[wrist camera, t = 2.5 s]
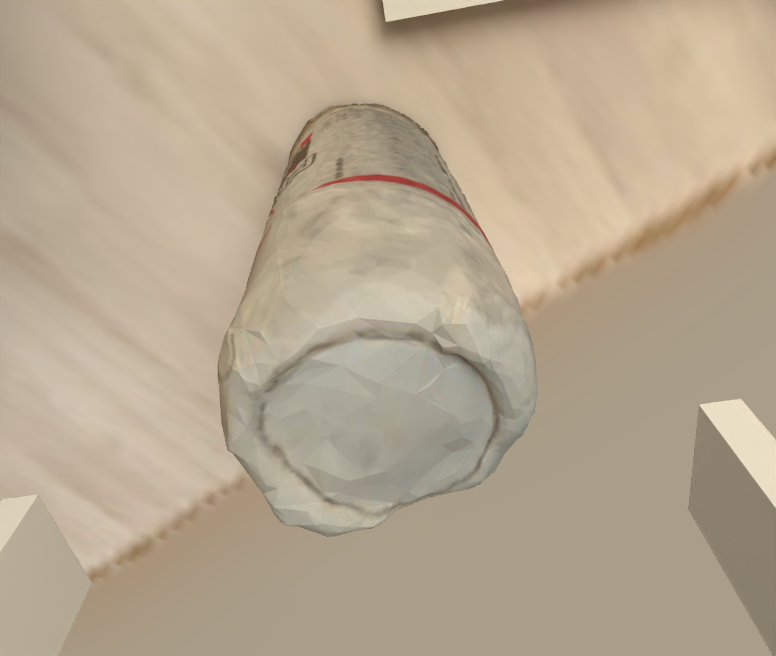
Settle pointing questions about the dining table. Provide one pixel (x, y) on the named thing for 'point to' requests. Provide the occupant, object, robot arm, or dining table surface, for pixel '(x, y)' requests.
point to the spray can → (372, 333)
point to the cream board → (424, 7)
